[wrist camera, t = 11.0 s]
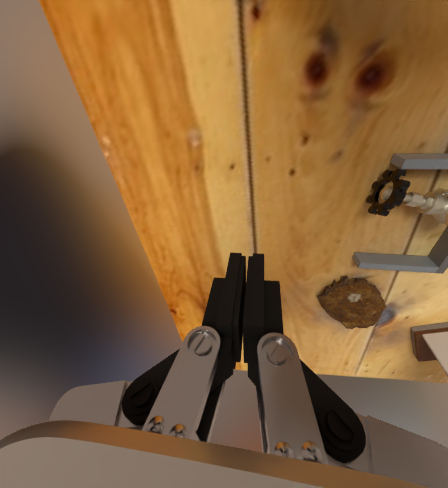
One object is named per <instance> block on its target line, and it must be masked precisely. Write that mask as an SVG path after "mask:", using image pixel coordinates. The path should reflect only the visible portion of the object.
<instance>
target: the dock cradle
mask: <svg viewBox="0 0 448 488" xmlns="http://www.w3.org/2000/svg"><path fill="white" fill-rule="evenodd" d="M390 163H392V164H394V165H395V166H397V167H399V168H400V169H448V153H422V154H394V155H393V157H392V160H391V162H390ZM353 259H354V261H355V263H356V264H357V266H358V268H365V269H381V270H396V271H412V272H428V273H444V272H445V270H446V269H447V268H448V226H447V228H446V229H445V231H444V232H443V234H442V235H441V237H440V238H439V240H438V241H437V243H436V245H435V246H434V248H433V249H432V251H431V252H430V254H429V255H428V256H414V255H395V254H377V253H358V252H355V253H354V256H353Z"/></svg>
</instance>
